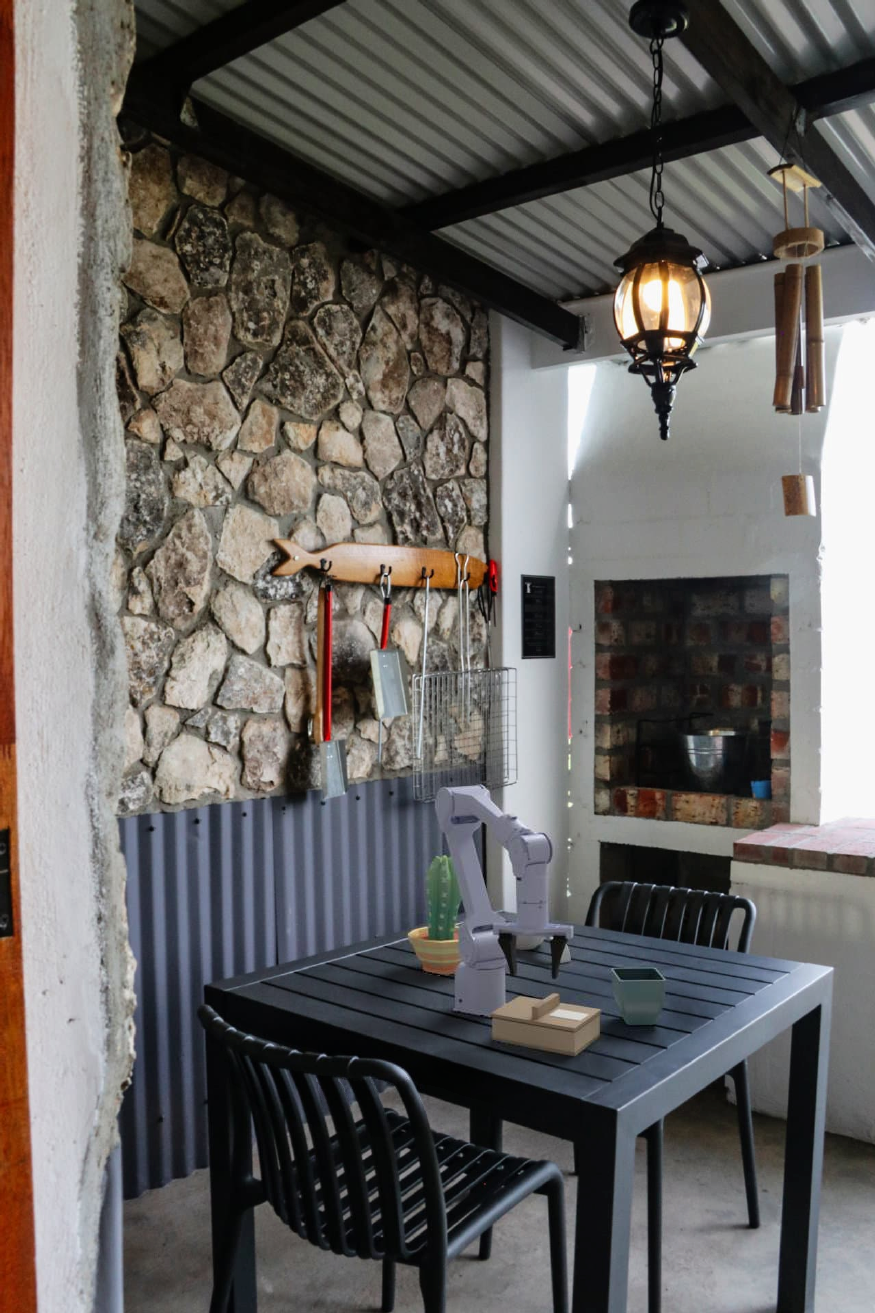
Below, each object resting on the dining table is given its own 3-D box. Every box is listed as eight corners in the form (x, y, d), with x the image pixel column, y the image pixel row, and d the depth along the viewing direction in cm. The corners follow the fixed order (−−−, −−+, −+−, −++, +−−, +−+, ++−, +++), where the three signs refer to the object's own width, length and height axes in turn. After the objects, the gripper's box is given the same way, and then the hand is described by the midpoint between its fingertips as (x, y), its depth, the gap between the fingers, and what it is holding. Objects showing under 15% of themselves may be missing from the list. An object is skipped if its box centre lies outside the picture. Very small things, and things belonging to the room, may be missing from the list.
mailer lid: (490, 1016, 193) (490, 1002, 193) (519, 999, 203) (519, 985, 203) (574, 1032, 184) (574, 1016, 184) (601, 1012, 194) (601, 998, 194)
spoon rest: (489, 944, 261) (488, 914, 261) (530, 938, 266) (530, 909, 266) (541, 968, 240) (541, 935, 240) (585, 961, 245) (585, 929, 245)
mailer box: (492, 1040, 193) (492, 1018, 193) (520, 1023, 202) (520, 1001, 202) (574, 1056, 185) (574, 1033, 185) (599, 1037, 194) (599, 1014, 194)
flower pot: (656, 1013, 207) (655, 966, 207) (667, 1029, 198) (666, 980, 198) (610, 1014, 207) (610, 967, 207) (620, 1030, 198) (619, 981, 198)
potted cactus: (478, 979, 231) (476, 862, 231) (406, 980, 231) (404, 863, 231) (477, 960, 246) (475, 850, 246) (409, 960, 246) (408, 851, 247)
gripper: (487, 903, 194) (489, 979, 194) (567, 906, 190) (569, 984, 189) (497, 896, 201) (499, 970, 201) (574, 899, 197) (576, 974, 196)
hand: (534, 976), depth 196 cm, fingers open, 7 cm apart
